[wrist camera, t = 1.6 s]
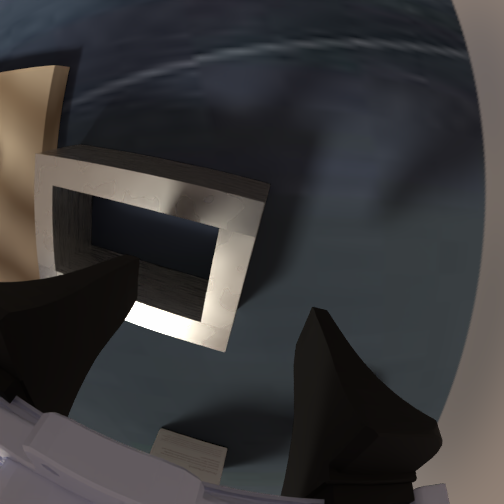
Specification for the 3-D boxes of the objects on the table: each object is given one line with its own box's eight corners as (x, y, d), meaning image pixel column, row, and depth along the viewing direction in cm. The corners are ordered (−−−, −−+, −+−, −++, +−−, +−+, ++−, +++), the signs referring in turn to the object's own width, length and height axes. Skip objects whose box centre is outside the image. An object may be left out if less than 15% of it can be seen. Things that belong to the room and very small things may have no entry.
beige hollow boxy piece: (237, 309, 19) (224, 352, 15) (75, 258, 19) (40, 284, 15) (270, 183, 15) (264, 202, 12) (79, 144, 15) (35, 153, 12)
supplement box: (159, 425, 26) (118, 528, 14) (229, 447, 26) (206, 554, 14) (156, 452, 29) (125, 536, 17) (216, 470, 29) (195, 558, 17)
